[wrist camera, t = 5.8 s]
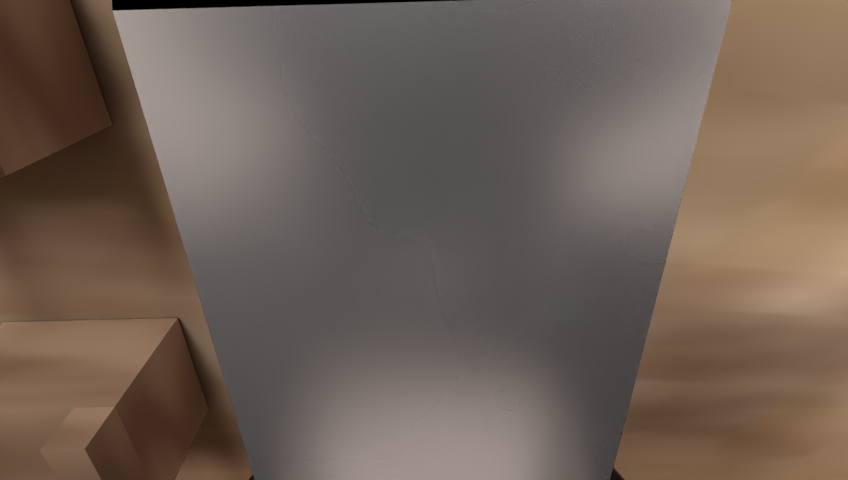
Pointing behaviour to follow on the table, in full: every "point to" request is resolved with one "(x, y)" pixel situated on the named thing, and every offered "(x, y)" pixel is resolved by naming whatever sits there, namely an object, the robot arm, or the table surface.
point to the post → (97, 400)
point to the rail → (426, 218)
